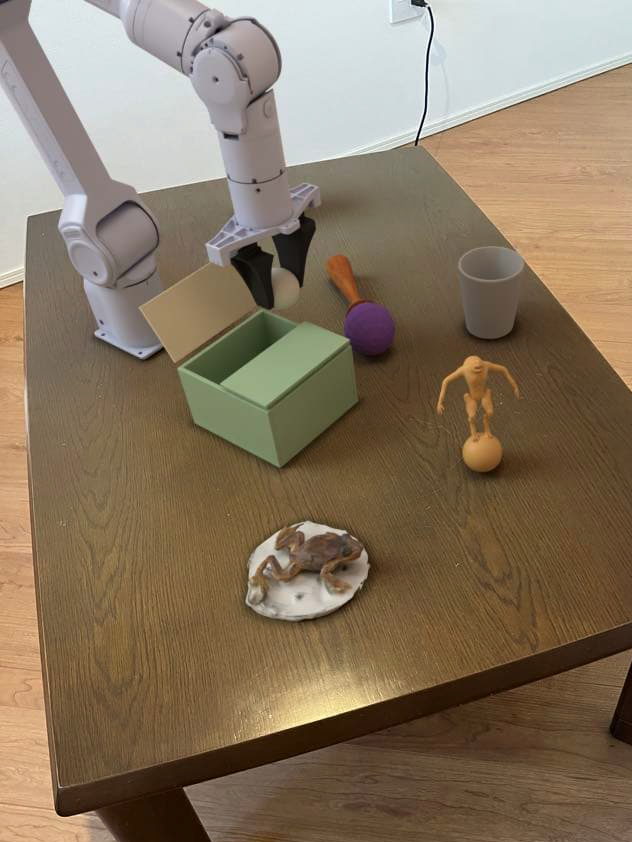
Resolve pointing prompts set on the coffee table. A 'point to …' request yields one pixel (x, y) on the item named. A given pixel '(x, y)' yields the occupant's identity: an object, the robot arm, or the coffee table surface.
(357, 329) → the purple maraca
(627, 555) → the coffee table surface
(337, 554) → the frog figurine
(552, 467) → the coffee table surface
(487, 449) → the figurine
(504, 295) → the cup
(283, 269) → the white ball
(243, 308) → the bin flap
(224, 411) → the bin
